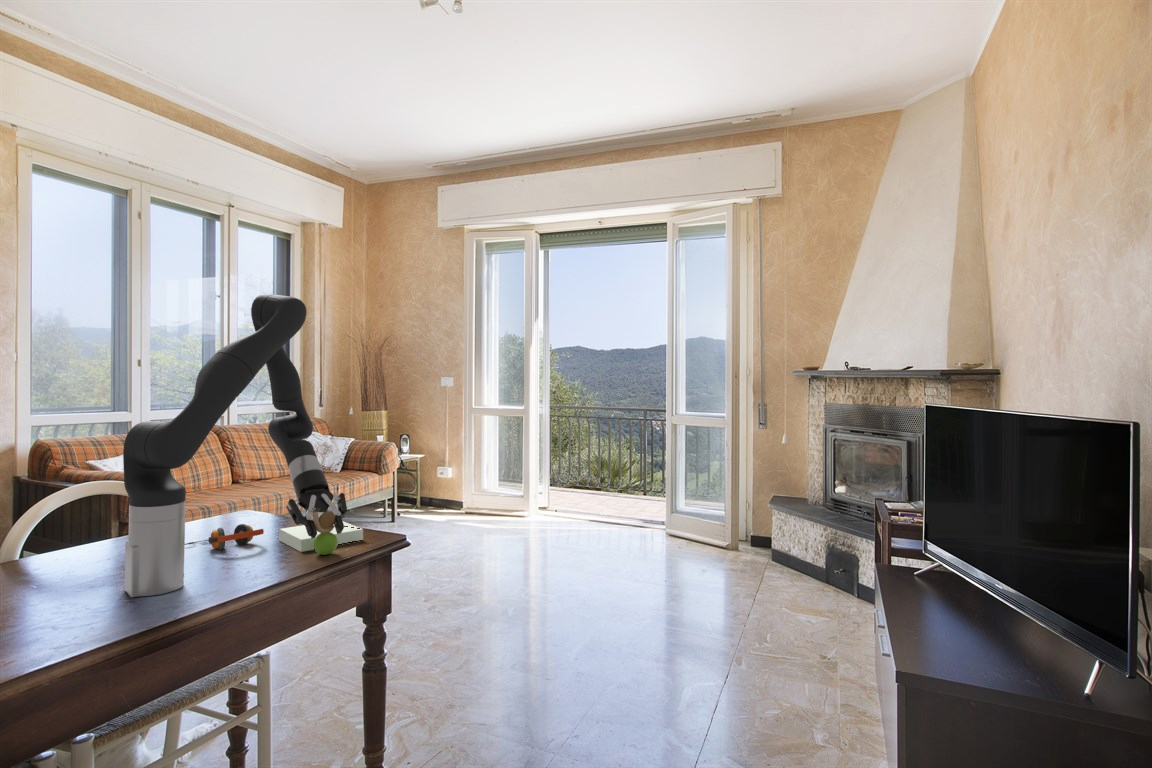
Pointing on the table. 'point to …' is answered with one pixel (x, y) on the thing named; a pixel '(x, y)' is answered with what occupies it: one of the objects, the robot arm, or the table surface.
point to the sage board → (304, 542)
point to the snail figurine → (324, 533)
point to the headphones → (232, 536)
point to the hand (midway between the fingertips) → (327, 533)
